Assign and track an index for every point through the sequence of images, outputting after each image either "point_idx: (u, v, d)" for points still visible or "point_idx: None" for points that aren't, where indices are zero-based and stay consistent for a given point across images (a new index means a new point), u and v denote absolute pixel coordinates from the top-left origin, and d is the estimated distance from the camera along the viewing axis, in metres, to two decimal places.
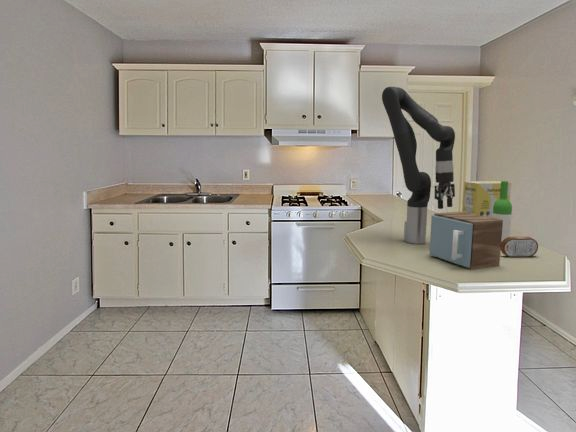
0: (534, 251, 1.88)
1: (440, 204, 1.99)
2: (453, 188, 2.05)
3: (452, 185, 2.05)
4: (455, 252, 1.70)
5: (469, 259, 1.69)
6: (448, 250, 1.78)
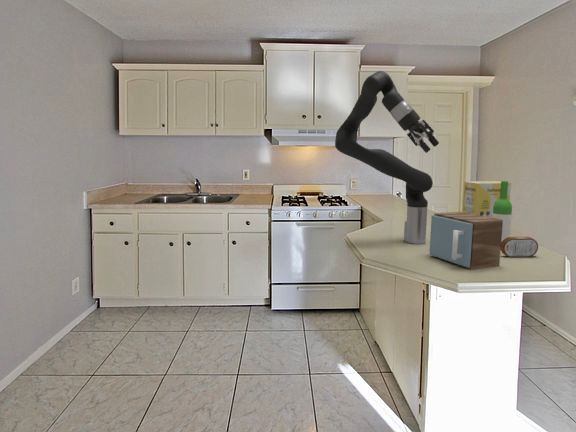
0: (534, 251, 1.88)
1: (435, 139, 1.66)
2: None
3: None
4: (455, 252, 1.70)
5: (469, 259, 1.69)
6: (448, 250, 1.78)
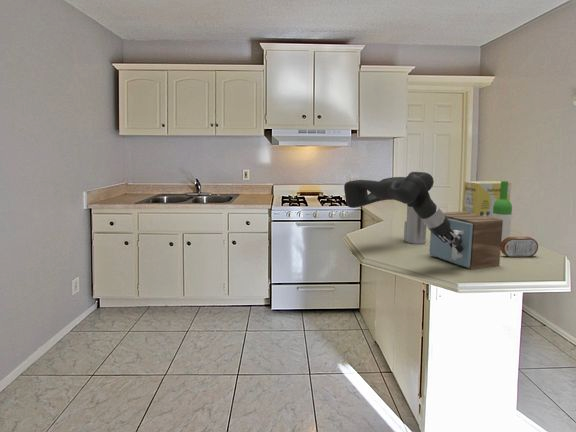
0: (534, 251, 1.88)
1: (461, 246, 1.68)
2: None
3: None
4: (455, 252, 1.70)
5: (469, 259, 1.69)
6: (448, 250, 1.78)
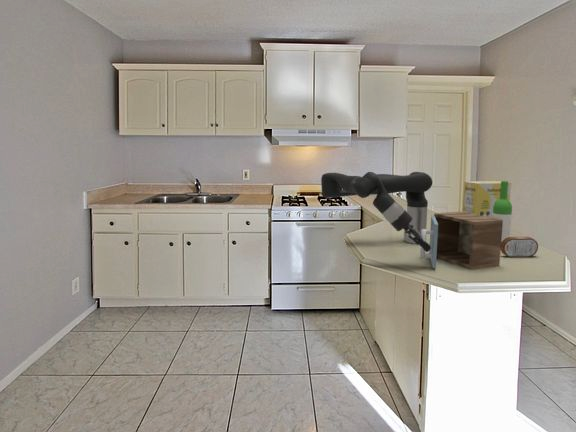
0: (534, 251, 1.88)
1: (426, 246, 1.69)
2: None
3: None
4: (422, 251, 1.71)
5: (434, 260, 1.68)
6: (431, 250, 1.78)
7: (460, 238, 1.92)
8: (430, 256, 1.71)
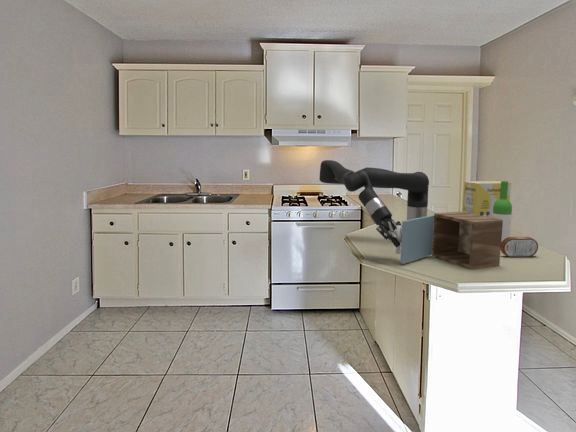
0: (534, 251, 1.88)
1: (394, 241, 1.76)
2: (399, 224, 1.84)
3: (397, 222, 1.85)
4: None
5: (402, 255, 1.74)
6: None
7: (460, 238, 1.92)
8: None
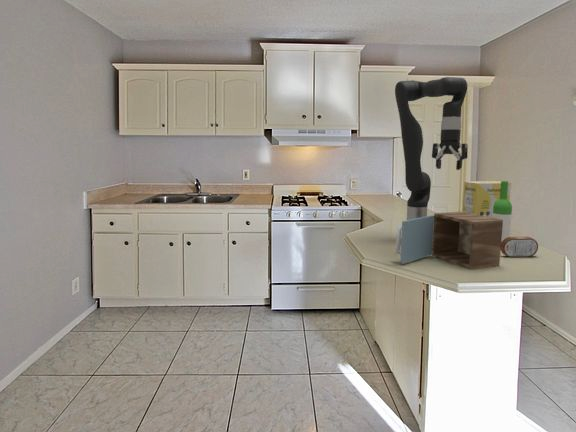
0: (534, 251, 1.88)
1: (461, 164, 1.81)
2: None
3: None
4: (396, 246, 1.79)
5: (402, 255, 1.74)
6: None
7: (460, 238, 1.92)
8: None
